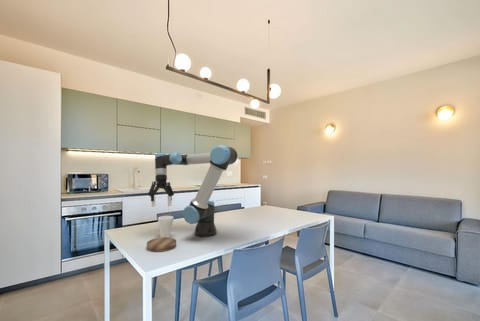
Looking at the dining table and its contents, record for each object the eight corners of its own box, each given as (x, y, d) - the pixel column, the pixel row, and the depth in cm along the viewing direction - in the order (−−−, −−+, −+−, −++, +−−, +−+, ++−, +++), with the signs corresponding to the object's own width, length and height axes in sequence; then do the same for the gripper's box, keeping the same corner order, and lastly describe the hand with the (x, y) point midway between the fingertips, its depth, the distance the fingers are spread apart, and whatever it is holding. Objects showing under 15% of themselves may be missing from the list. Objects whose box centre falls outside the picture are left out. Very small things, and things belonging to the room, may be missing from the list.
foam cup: (158, 240, 141) (158, 219, 142) (157, 235, 150) (157, 216, 150) (173, 238, 145) (174, 218, 146) (171, 234, 154) (172, 215, 154)
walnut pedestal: (180, 243, 136) (180, 238, 136) (169, 252, 120) (169, 247, 120) (155, 241, 138) (155, 236, 138) (141, 251, 122) (141, 245, 122)
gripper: (170, 177, 168) (171, 205, 163) (142, 174, 147) (142, 207, 142) (178, 175, 164) (179, 204, 160) (149, 172, 143) (150, 206, 138)
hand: (161, 206), depth 151 cm, fingers open, 13 cm apart
